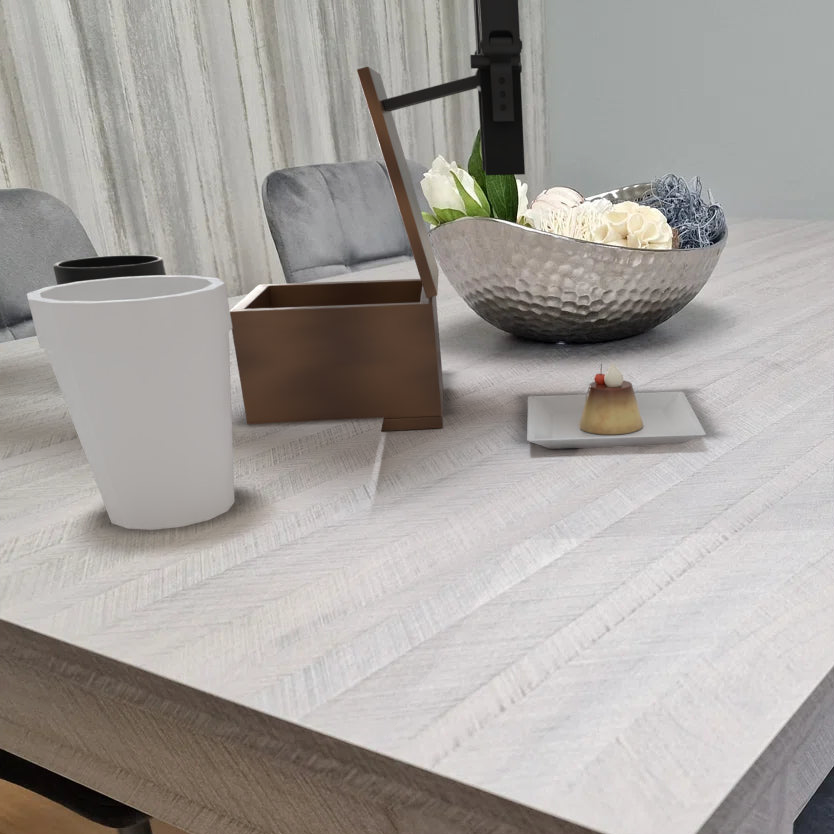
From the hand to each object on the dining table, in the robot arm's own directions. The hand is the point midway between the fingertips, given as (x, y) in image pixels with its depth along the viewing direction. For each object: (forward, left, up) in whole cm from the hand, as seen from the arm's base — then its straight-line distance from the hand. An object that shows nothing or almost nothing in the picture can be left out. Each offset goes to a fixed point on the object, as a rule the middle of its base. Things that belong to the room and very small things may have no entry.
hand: (502, 171), depth 75 cm
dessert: (+6, -9, -17) cm, 20 cm away
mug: (-36, +23, -17) cm, 46 cm away
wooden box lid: (-8, 0, -1) cm, 8 cm away
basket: (-13, 0, -17) cm, 21 cm away
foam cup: (-21, -24, -17) cm, 36 cm away
